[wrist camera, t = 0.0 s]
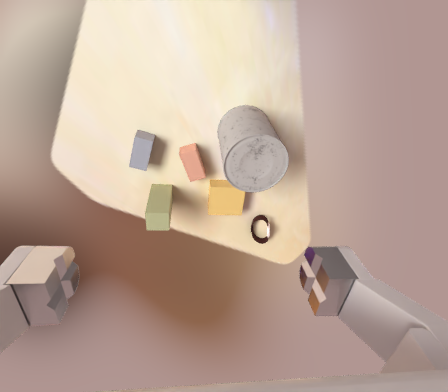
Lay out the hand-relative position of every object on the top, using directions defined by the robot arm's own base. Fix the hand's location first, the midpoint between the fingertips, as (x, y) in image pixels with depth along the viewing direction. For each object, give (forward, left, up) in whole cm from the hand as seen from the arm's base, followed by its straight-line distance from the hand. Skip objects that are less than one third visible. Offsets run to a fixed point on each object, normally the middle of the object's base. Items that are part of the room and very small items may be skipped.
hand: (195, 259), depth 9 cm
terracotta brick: (+17, 0, -39) cm, 43 cm away
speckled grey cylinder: (+11, +9, -39) cm, 41 cm away
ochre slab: (+25, +7, -39) cm, 47 cm away
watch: (+34, +16, -39) cm, 54 cm away
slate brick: (+15, -9, -39) cm, 43 cm away
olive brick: (+25, -6, -39) cm, 46 cm away
